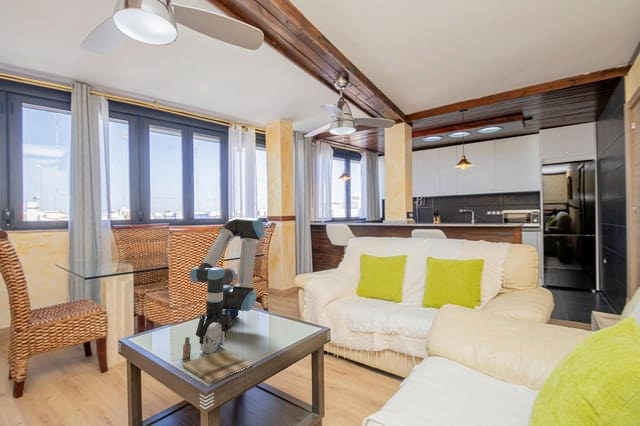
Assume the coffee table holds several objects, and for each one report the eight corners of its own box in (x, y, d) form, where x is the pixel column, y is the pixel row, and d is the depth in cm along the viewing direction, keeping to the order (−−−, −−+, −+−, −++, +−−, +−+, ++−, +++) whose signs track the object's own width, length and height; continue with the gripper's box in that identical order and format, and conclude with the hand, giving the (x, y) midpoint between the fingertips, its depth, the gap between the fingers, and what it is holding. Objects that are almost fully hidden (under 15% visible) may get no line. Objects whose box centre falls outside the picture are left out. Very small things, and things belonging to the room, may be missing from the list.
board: (223, 352, 151) (224, 349, 151) (252, 366, 138) (252, 363, 138) (182, 366, 136) (183, 363, 136) (210, 383, 122) (210, 380, 122)
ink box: (212, 345, 158) (213, 321, 159) (221, 347, 157) (222, 322, 158) (202, 352, 150) (203, 327, 150) (212, 354, 149) (213, 328, 149)
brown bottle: (188, 355, 146) (189, 336, 146) (191, 358, 144) (192, 337, 144) (181, 358, 143) (182, 337, 144) (184, 360, 141) (185, 339, 141)
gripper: (229, 295, 165) (227, 339, 165) (188, 302, 148) (186, 351, 147) (238, 298, 160) (236, 343, 160) (197, 306, 143) (194, 356, 143)
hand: (212, 347), depth 154 cm, fingers closed on ink box, 9 cm apart
